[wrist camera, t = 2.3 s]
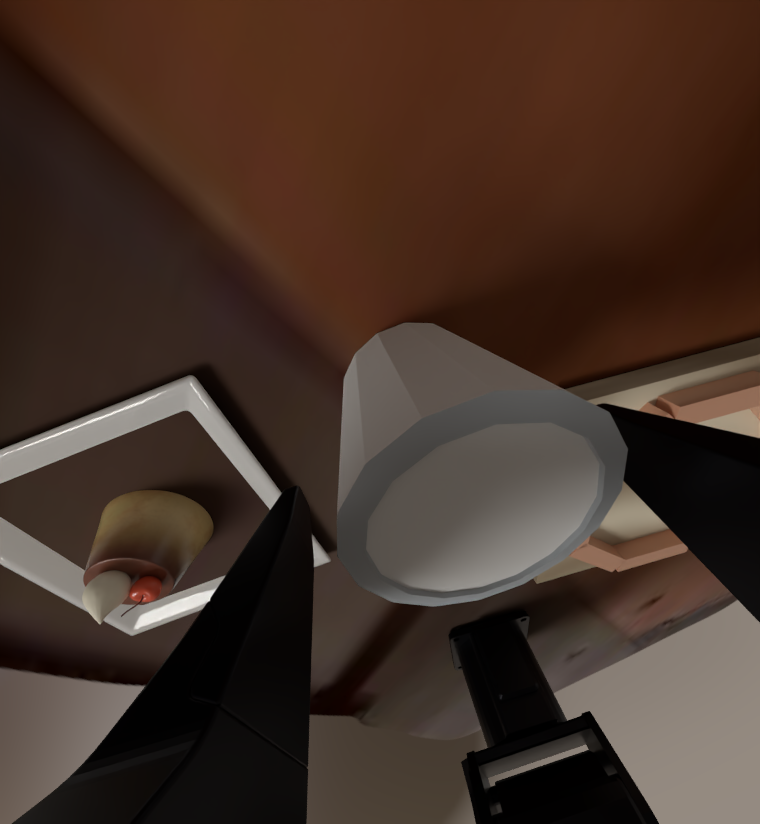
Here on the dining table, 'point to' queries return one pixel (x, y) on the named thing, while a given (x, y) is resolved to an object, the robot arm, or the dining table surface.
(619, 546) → the coaster ring
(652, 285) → the dining table surface
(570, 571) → the serving board
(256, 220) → the dining table surface
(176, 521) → the dessert
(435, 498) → the shot glass
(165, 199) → the dining table surface
